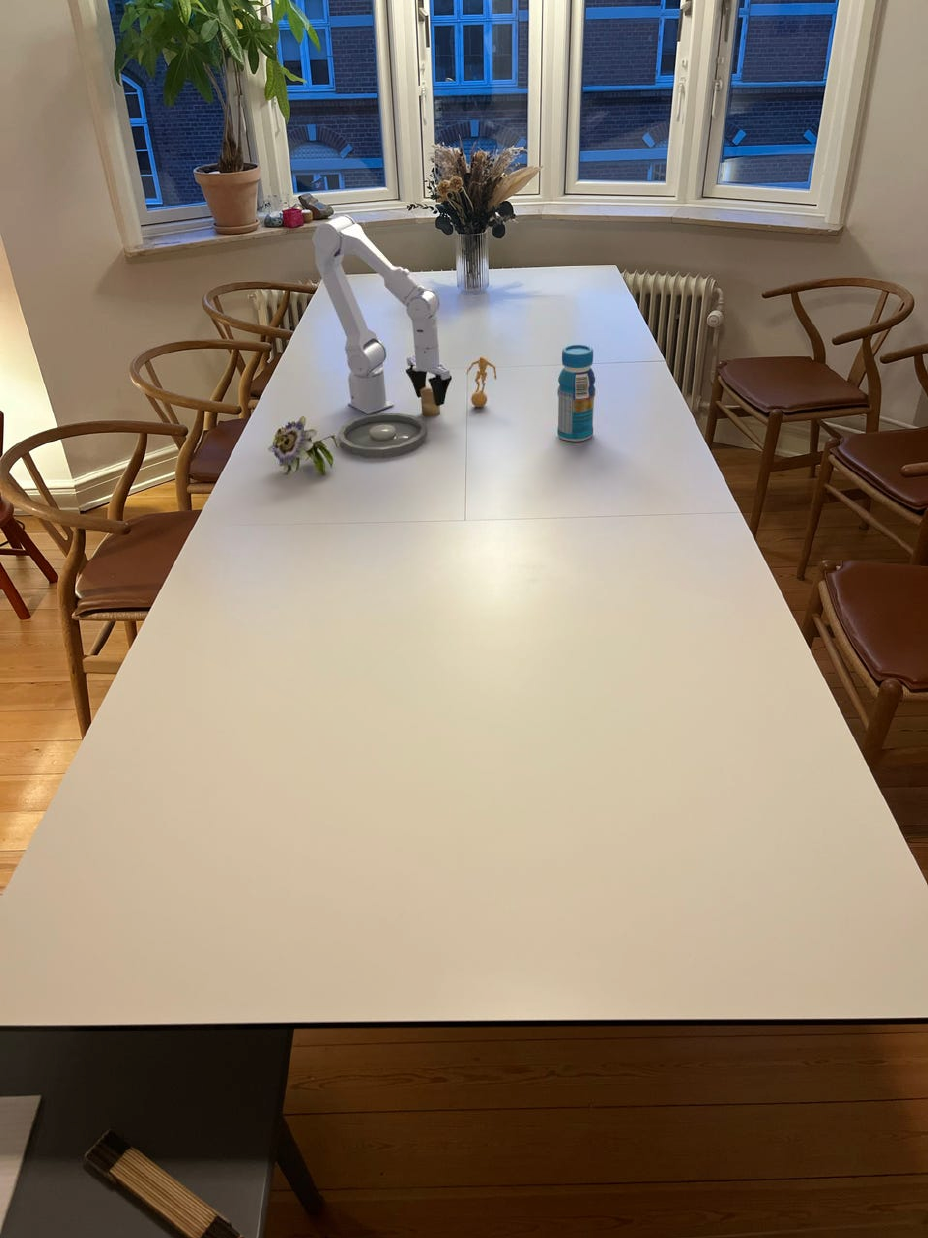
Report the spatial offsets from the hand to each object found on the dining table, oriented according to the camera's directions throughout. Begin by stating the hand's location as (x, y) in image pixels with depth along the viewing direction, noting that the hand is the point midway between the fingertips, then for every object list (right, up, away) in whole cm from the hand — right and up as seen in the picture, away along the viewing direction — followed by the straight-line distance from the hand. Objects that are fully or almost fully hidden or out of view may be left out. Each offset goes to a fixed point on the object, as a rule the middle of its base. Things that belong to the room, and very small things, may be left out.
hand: (430, 400), depth 214 cm
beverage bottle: (+34, -11, -12) cm, 38 cm away
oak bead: (0, -3, +2) cm, 3 cm away
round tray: (-11, -11, -9) cm, 18 cm away
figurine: (+13, 0, +5) cm, 13 cm away
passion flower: (-27, -20, -19) cm, 38 cm away
